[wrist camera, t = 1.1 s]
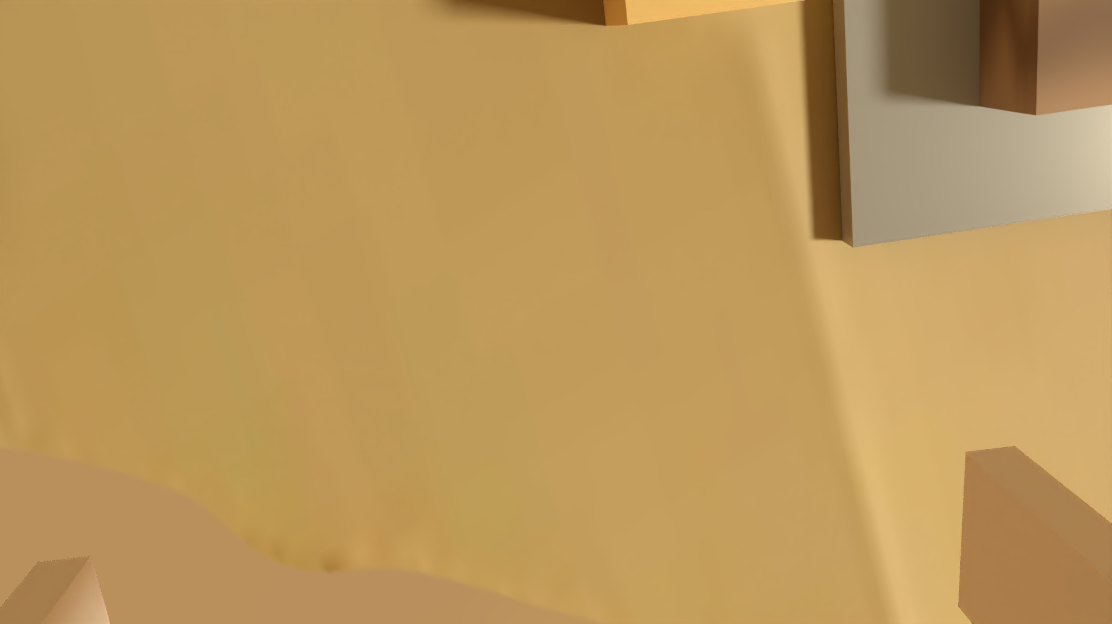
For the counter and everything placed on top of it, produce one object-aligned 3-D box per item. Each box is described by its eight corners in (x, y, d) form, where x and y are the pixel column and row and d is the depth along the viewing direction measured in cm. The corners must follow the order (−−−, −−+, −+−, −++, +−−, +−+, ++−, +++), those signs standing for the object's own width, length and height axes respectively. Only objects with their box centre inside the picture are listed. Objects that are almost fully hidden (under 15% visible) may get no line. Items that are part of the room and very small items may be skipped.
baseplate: (825, -175, 34) (837, -182, 33) (1241, -231, 35) (1266, -239, 34) (842, 240, 39) (853, 247, 38) (1207, 187, 40) (1228, 191, 39)
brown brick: (980, -54, 35) (1040, -65, 31) (1119, -74, 35) (1195, -86, 31) (979, 106, 37) (1036, 115, 33) (1111, 87, 37) (1183, 94, 33)
